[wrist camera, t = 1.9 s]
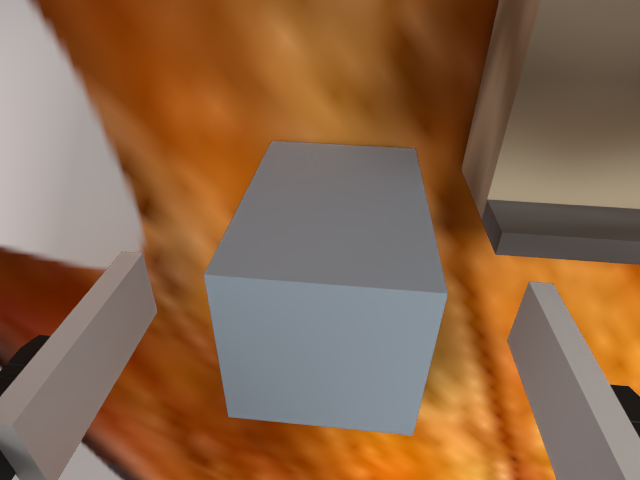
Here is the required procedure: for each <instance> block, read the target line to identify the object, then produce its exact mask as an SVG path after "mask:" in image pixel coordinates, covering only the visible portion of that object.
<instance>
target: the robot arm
mask: <svg viewBox="0 0 640 480" xmlns="http://www.w3.org/2000/svg"><path fill="white" fill-rule="evenodd" d="M157 312H158V311H157V307H156V303H155V299H154V295H153V291H152V287H151V283H150V279H149V276H148V272H147V268H146V264H145V260H144V256H143V253H134V252H121V253H120V254H119V256H118V257H117V258H116V259H115V260H114V262H113V263H112V264H111V265H110V266H109V267H108V269H107V270H106V271H105V272H104V273H103V275H102V276H101V277H100V278H99V279H98V281H97V282H96V283H95V284H94V285H93V287H92V288H91V289H90V290H89V291H88V292H87V294H86V295H85V296H84V297H83V298H82V300H81V301H80V302H79V303H78V304H77V306H76V307H75V308H74V309H73V310H72V312H71V313H70V314H69V315H68V316H67V318H66V319H65V320H64V321H63V322H62V324H61V325H60V326H59V327H58V328H57V330H56V331H55V332H54V333H53V334H52V336H44V335H39V336H37V337H36V338H34V339H33V340H31V341H30V342H29V343H27V344H26V345H24V346H23V347H21V348H20V349H19V351H18V352H17V353H16V354H15V355H14V356H13V357H12V358H11V360H10V361H9V362H8V365H7V366H4V367H3V369H2V370H1V371H0V480H12V478H13V477H14V475H15V474H16V475H17V477H18V478H19V480H58V478H59V477H60V475H61V473H62V472H63V470H64V468H65V467H66V465H67V463H68V462H69V460H70V458H71V457H72V455H73V453H74V452H75V450H76V448H77V447H78V445H79V443H80V442H81V440H82V438H83V436H84V435H85V433H86V431H87V430H88V428H89V426H90V425H91V423H92V421H93V420H94V418H95V416H96V415H97V413H98V411H99V410H100V408H101V406H102V404H103V403H104V401H105V399H106V398H107V396H108V394H109V393H110V391H111V389H112V388H113V386H114V384H115V383H116V381H117V379H118V378H119V376H120V374H121V372H122V371H123V369H124V367H125V366H126V364H127V362H128V361H129V359H130V357H131V356H132V354H133V352H134V351H135V349H136V347H137V346H138V344H139V342H140V341H141V339H142V337H143V335H144V334H145V332H146V330H147V329H148V327H149V325H150V324H151V322H152V320H153V319H154V317H155V315H156V314H157ZM507 342H508V344H509V347H510V350H511V353H512V356H513V358H514V361H515V364H516V367H517V370H518V372H519V375H520V378H521V381H522V384H523V386H524V389H525V392H526V395H527V398H528V400H529V403H530V406H531V409H532V412H533V414H534V417H535V420H536V423H537V426H538V428H539V431H540V434H541V437H542V440H543V442H544V445H545V448H546V451H547V454H548V456H549V459H550V462H551V465H552V468H553V470H554V473H555V476H556V479H557V480H640V397H639V396H638V395H637V394H636V393H635V392H634V391H633V390H632V389H631V388H630V387H629V386H619V385H610V384H609V383H608V381H607V379H606V377H605V375H604V374H603V372H602V370H601V368H600V366H599V365H598V363H597V361H596V359H595V357H594V356H593V354H592V352H591V350H590V349H589V347H588V345H587V343H586V341H585V340H584V338H583V336H582V334H581V332H580V331H579V329H578V327H577V325H576V323H575V322H574V320H573V318H572V316H571V315H570V313H569V311H568V309H567V307H566V306H565V304H564V302H563V300H562V298H561V297H560V295H559V293H558V291H557V289H556V288H555V286H554V284H553V283H541V282H529V283H528V286H527V289H526V291H525V294H524V297H523V299H522V302H521V305H520V307H519V310H518V313H517V316H516V318H515V321H514V324H513V326H512V329H511V332H510V334H509V337H508V340H507Z"/></svg>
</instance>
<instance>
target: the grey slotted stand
mask: <svg viewBox="0 0 640 480" xmlns="http://www.w3.org/2000/svg"><path fill="white" fill-rule="evenodd" d="M461 170H462V173H463V175H464V178H465V180H466V183H467V185H468V188H469V190H470V192H471V195H472V197H473V200H474V202H475V205H476V207H477V210H478V212H479V215H480V217H481V220H482V222H483V225H484V227H485V230H486V232H487V234H488V237H489V239H490V242H491V244H492V247H493V249H494V252H495V254H496V255H510V256H525V257H539V258H553V259H567V260H581V261H595V262H610V263H624V264H638V265H640V0H499V3H498V8H497V12H496V17H495V21H494V26H493V30H492V35H491V39H490V44H489V48H488V53H487V57H486V61H485V66H484V70H483V75H482V79H481V84H480V88H479V93H478V97H477V102H476V106H475V111H474V115H473V120H472V124H471V129H470V133H469V138H468V142H467V147H466V151H465V156H464V160H463V165H462V169H461Z"/></svg>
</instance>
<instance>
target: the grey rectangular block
mask: <svg viewBox="0 0 640 480" xmlns="http://www.w3.org/2000/svg"><path fill="white" fill-rule="evenodd" d="M204 278H205V284H206V290H207V296H208V301H209V307H210V313H211V319H212V325H213V330H214V336H215V342H216V348H217V354H218V360H219V365H220V371H221V377H222V383H223V389H224V394H225V400H226V406H227V412H228V417H233V418H243V419H253V420H263V421H273V422H283V423H293V424H303V425H313V426H323V427H333V428H343V429H353V430H363V431H373V432H383V433H393V434H403V435H413V433H414V429H415V425H416V421H417V417H418V413H419V409H420V405H421V401H422V397H423V393H424V388H425V384H426V380H427V376H428V372H429V368H430V364H431V360H432V356H433V352H434V348H435V344H436V340H437V336H438V332H439V328H440V324H441V320H442V316H443V312H444V308H445V303H446V299H447V295H448V292H447V287H446V283H445V278H444V274H443V269H442V265H441V260H440V256H439V251H438V247H437V242H436V238H435V233H434V229H433V224H432V220H431V215H430V211H429V206H428V202H427V197H426V193H425V188H424V184H423V179H422V175H421V170H420V166H419V161H418V157H417V153H416V149H414V148H396V147H377V146H359V145H340V144H322V143H304V142H285V141H271V143H270V145H269V147H268V149H267V151H266V153H265V155H264V157H263V159H262V161H261V163H260V165H259V167H258V169H257V171H256V173H255V175H254V177H253V179H252V181H251V183H250V185H249V187H248V189H247V191H246V193H245V195H244V197H243V199H242V201H241V203H240V205H239V207H238V208H237V210H236V212H235V214H234V216H233V218H232V220H231V222H230V224H229V226H228V228H227V230H226V232H225V234H224V236H223V238H222V240H221V242H220V244H219V246H218V248H217V250H216V252H215V254H214V256H213V258H212V260H211V262H210V264H209V266H208V268H207V270H206V272H205V274H204Z"/></svg>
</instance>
